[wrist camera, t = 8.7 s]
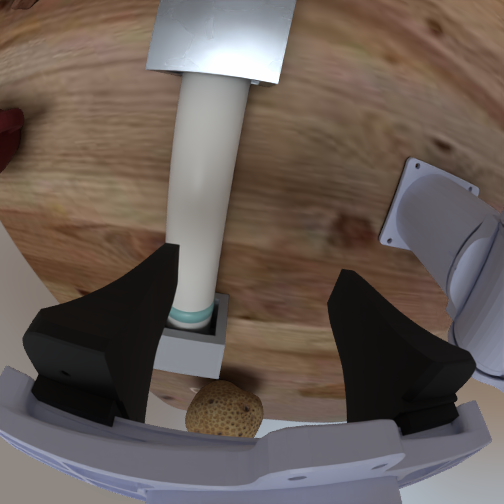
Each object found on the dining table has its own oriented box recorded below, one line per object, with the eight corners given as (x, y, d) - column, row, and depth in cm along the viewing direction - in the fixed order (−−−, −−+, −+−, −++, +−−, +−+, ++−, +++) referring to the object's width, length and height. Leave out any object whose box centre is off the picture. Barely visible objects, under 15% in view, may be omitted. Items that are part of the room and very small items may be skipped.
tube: (197, 39, 14) (183, 25, 11) (259, 46, 15) (261, 33, 11) (170, 309, 26) (160, 341, 23) (212, 316, 26) (207, 349, 23)
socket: (159, 283, 26) (141, 331, 20) (228, 294, 26) (224, 345, 21) (160, 320, 28) (146, 366, 23) (222, 330, 29) (218, 379, 24)
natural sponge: (256, 359, 31) (258, 436, 23) (266, 395, 36) (269, 459, 27) (182, 365, 32) (170, 437, 24) (204, 399, 37) (198, 461, 28)
